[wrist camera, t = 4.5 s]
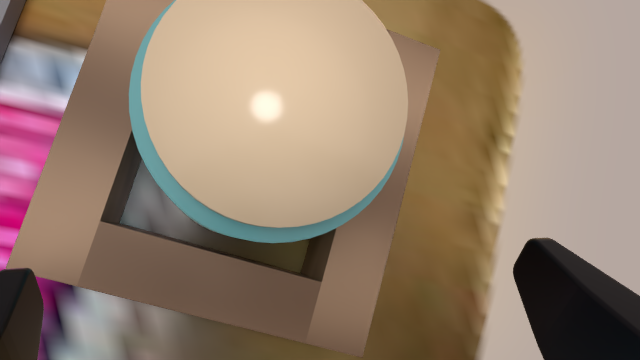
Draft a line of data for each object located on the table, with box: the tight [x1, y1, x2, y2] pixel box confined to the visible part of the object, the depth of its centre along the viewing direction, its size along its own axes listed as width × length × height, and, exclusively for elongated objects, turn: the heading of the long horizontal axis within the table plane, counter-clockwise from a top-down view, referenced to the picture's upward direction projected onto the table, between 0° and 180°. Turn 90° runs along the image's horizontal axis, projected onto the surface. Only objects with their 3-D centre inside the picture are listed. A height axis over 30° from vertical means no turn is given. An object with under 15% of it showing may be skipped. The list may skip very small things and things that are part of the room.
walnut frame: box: [6, 0, 440, 357], centre depth 17 cm, size 11×11×4 cm
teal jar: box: [129, 0, 408, 243], centre depth 14 cm, size 6×6×10 cm
